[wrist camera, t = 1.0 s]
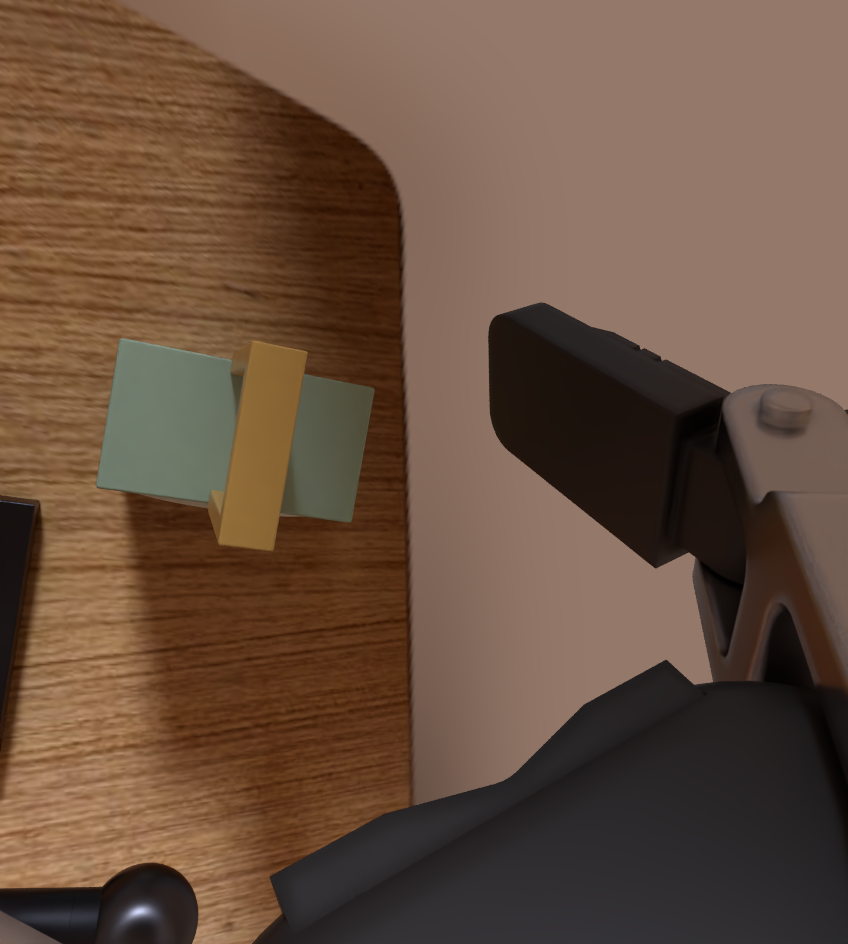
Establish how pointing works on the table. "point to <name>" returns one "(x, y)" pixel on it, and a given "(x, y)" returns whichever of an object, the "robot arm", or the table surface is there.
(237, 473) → the green box with handle
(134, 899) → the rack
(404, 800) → the table surface
